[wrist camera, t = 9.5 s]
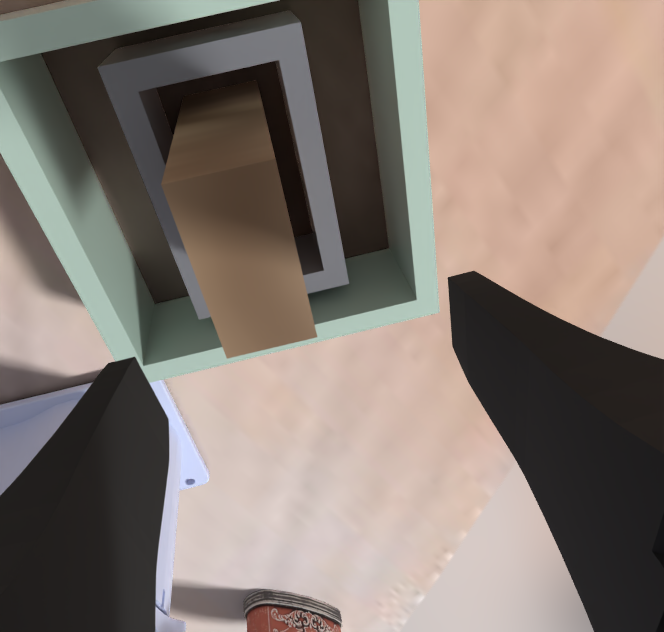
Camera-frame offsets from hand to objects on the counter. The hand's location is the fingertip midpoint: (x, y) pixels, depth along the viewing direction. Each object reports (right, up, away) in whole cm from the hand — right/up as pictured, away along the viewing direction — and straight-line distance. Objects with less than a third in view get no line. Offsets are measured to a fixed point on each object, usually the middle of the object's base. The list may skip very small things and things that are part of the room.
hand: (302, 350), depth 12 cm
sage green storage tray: (-3, +6, +7) cm, 10 cm away
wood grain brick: (-3, +6, +7) cm, 10 cm away
